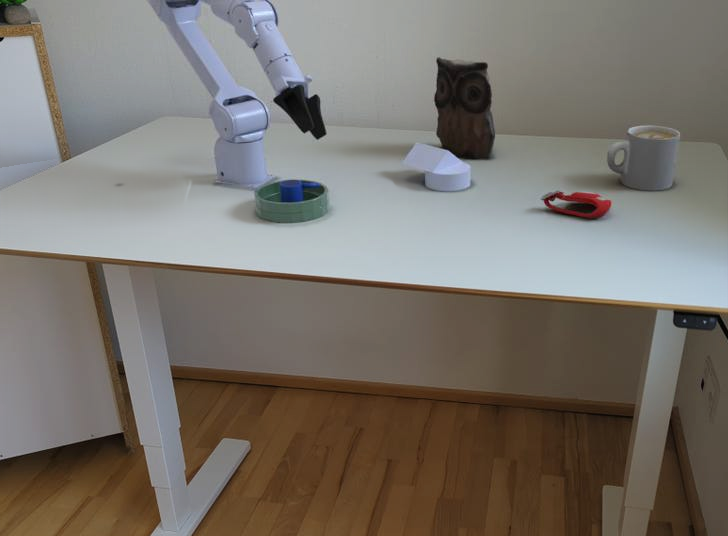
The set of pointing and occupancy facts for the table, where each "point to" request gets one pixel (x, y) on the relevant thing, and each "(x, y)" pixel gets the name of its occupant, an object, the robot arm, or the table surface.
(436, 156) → the wedge on round base
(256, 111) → the robot arm
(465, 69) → the owl
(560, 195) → the tracker holder
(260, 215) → the green plant saucer
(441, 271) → the table surface
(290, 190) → the scoop
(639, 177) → the coffee mug
